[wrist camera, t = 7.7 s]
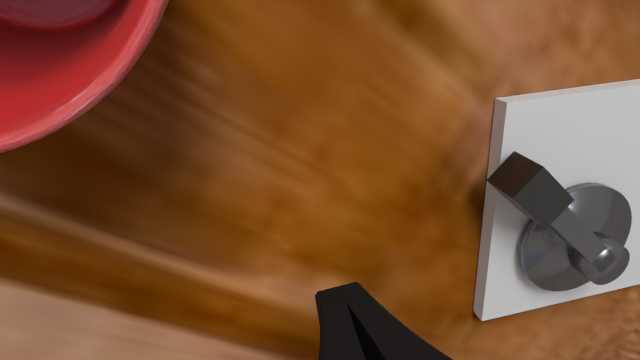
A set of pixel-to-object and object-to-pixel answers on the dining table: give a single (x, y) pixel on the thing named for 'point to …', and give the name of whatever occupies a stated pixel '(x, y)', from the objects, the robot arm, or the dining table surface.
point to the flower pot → (65, 59)
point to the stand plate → (568, 169)
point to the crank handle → (565, 226)
